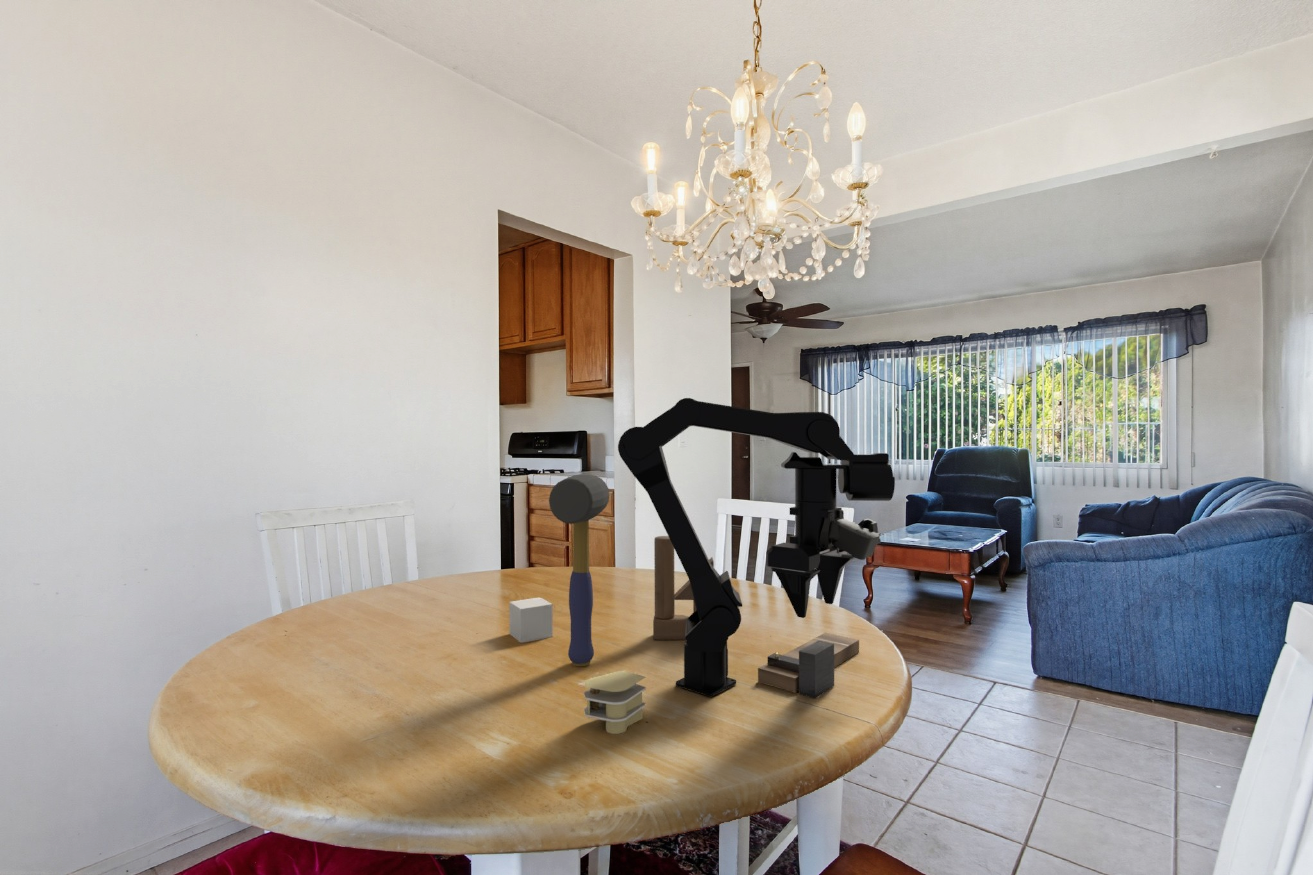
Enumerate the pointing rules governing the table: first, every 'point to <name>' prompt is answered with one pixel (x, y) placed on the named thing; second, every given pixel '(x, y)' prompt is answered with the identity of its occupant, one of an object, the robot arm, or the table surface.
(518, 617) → the grey cube
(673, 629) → the brown post on base
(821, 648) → the marking gauge
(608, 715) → the toy house
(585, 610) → the rubber mallet
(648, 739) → the table surface
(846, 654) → the walnut board
